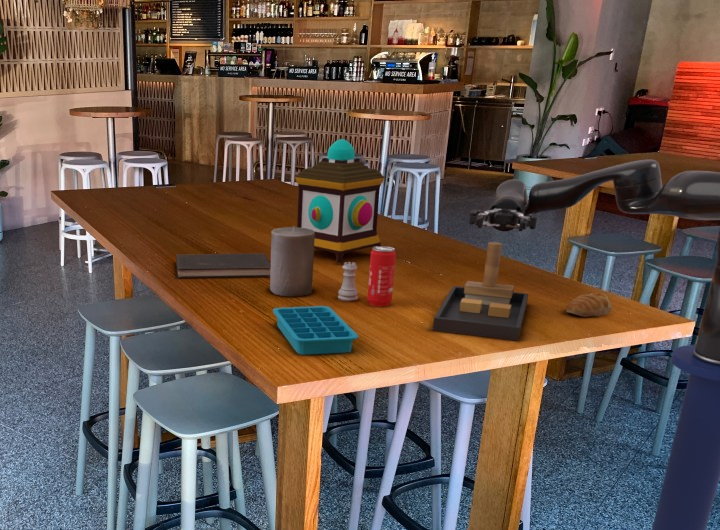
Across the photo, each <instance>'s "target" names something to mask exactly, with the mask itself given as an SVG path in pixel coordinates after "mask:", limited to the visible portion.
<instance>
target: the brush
mask: <svg viewBox="0 0 720 530" xmlns="http://www.w3.org/2000/svg"><path fill="white" fill-rule="evenodd" d="M502 249H503V242H500V241H489V242H488V243H487V248H486V254H485V255H486V256H485V263H484V271H483V279H482V281H481V282H480V281H471V280H466V283H464V287H465V288H464V294H465V299H474V300H482V304H484V305H490V304H491V303H499V304H508V305H510V300H511V298H512V295H513V292H514V289H515V285H512V284H502V283H501V284H500V283H498V277H499V271H500V263H501V257H502Z"/></svg>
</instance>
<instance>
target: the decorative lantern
mask: <svg viewBox="0 0 720 530" xmlns="http://www.w3.org/2000/svg"><path fill="white" fill-rule="evenodd" d="M355 155H356V152H355V148H354V147H353V145H352V144H351V143H350V142H349V141H348V140H346V139H343V138H341V139H337V140H336V141H335V142H333V143H332V144H331V146H329V148H328V150H327V156H326V157H322V158H321V161H318V162H317V164H315V165H313V166H312V167H307V168H304V169H302V171H300V172H298V174H296V175H295V176H294V178H295V182H296V184H297V187H298V195H297V196H298V197H297V198H298V199H297V219H296V220H297V222H296V223H297V224H296V225H297V226H296V227H298V228H307V229H311V230H313V231H314V232H315V239H314V250H319V251H324V252H328V253H333V254H334V255H335V257H336V258H335V259H336V263H337V265H341V264H342V262H343V260H344V259H343V258H344V256H345V254H347V253H350V252H351V253H352V252H356V251H359V250H364V249H367V248H368V249H369V248H373V247H378V246H382V243H381V240H380V238H379V235H378V232H377V230H378V229H377V227H378V217H379V203H380V190H381V187H382V184H383V182H384V181H385V177H386V176H385V175H383V174H382V172H379V171H378V169H377V168H371V167H369V166H368V165H366V164H365V162H363V161H360V160H361V158H360V157H358V158H357V157H356V156H355Z"/></svg>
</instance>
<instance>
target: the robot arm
mask: <svg viewBox="0 0 720 530" xmlns="http://www.w3.org/2000/svg"><path fill="white" fill-rule="evenodd" d="M661 172H662V171H661V167H660V163H659V162H658V161H657V160H655V159H652V158H651V159H646V158H645V159H638V160H633V161H627V162H624V163H620V164H617V165H613V166H609V167H605V168H600V169H597V170H593V171H590V172H587V173H583V174H580V175H577V176H573V177H567V178H563V179H556V180H550V181H544V182H543V181H542V182H538V183H535V184H534V185H532V186H531V187H530V190H529V193H528V191H527V186H526V183H525V182H524V181H522V180H520V179H517V178H512V179H508V180H505V181H503V182H502V183H500V184H499V185H498V186H497V188H496V190H495V201H494V202H493V204H491V206H490V208H489V209H487V210H485V211H484V212H481V211H482V210H480V208H479V209H478V208H474V209H473V210H471V211H470V213H469V221H468V224H469V225H475V226H476V227H477V228H478V229H482V227H492V228H493V229H494V230H497V231H500V232H511V231H512V230H514V229H515V230H516V229H518V232H523V230H524V231H525V230H527V229H528V228H529V229H530V230H536V228H537V223H538V214H540V213H544V212H553V211H561V210H566V209H569V208H571V207H573V206H575V205H577V204H578V203H579V202H581V201H582V200H584V198H585V197H587V196H588V195H589V194H590V193H591V192H593V191H594V190H595V189H597V188H598V187H600V186H601V185H603V184H606V183H609V182H613V188H614V195H615V196H614V197H615V201H616V202H615V203H616V205H617V208H618V210H619V211H620V212H622V213H624V214H632V215H661V216H662V215H663V216H670V217H677V218H681V219H688V220H695V221H720V172H718V171H709V170H685V171H682V172H679V173H677V174H676V175H674V176H672V177H671V178H670V179H669V180H667V181H666V182H665V184H664V185H663V181H662V180H663V179H662V173H661ZM715 260H716V261H715V264H714V268H713V272H712V277H711V280H710V285H709V289H708V293H707V297H706V301H705V305H704V308H703V309H704V310H703V313H702V317H701V320H700V325H699V330H698V332H697V333H698V334H697V339H696V342H695V344H694V345H695V349H694V352H693V356H694V357H695V358H696V359H698V360H700V361H702V362H705V363H708V364H712V365H716V366H720V228H719V229H718V234H717V240H716V259H715Z"/></svg>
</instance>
